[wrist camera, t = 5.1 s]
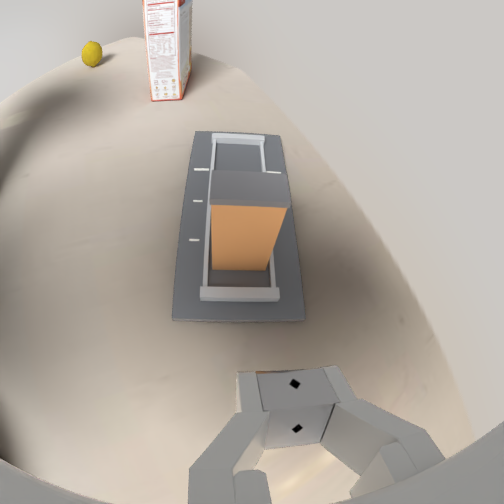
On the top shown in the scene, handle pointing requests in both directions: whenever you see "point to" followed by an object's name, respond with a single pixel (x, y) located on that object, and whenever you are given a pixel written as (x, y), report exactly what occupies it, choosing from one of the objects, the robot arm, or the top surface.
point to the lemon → (91, 53)
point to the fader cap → (246, 217)
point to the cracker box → (168, 46)
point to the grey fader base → (200, 242)
